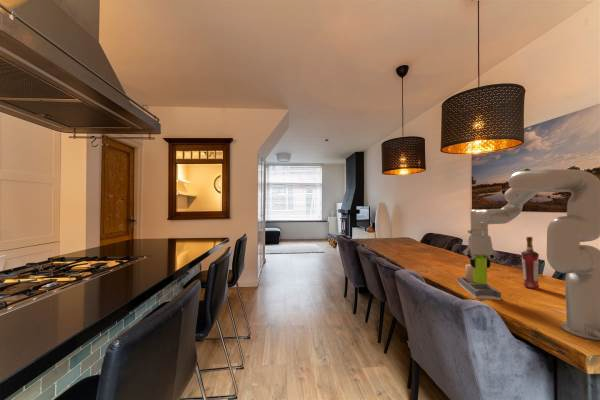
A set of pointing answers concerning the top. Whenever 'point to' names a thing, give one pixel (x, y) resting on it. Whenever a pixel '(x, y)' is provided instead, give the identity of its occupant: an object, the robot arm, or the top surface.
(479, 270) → the soap dispenser
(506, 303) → the top surface
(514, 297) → the top surface
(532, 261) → the liquor
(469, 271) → the rail
